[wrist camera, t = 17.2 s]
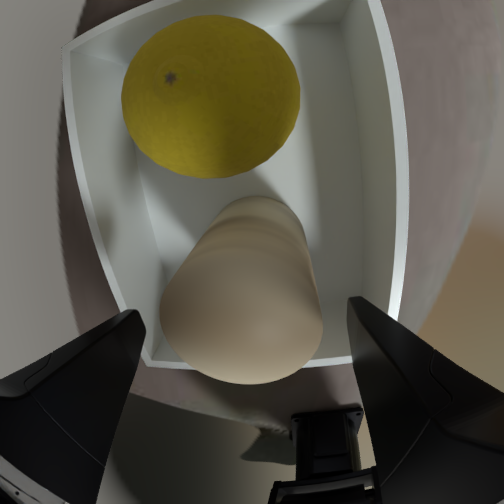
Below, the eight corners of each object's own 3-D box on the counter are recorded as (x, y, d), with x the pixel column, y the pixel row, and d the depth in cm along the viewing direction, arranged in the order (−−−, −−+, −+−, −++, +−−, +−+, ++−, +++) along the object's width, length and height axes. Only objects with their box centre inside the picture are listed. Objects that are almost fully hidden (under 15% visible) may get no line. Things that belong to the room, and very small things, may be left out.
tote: (366, 299, 16) (389, 356, 11) (175, 312, 18) (146, 366, 13) (344, 18, 9) (370, -25, 5) (119, 62, 11) (61, 46, 7)
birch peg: (296, 290, 15) (303, 390, 9) (208, 278, 16) (166, 370, 9) (313, 203, 13) (341, 269, 7) (212, 190, 14) (153, 244, 7)
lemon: (171, 71, 11) (63, 29, 4) (283, 47, 10) (284, -47, 3) (190, 173, 13) (94, 226, 6) (302, 155, 12) (334, 187, 5)
